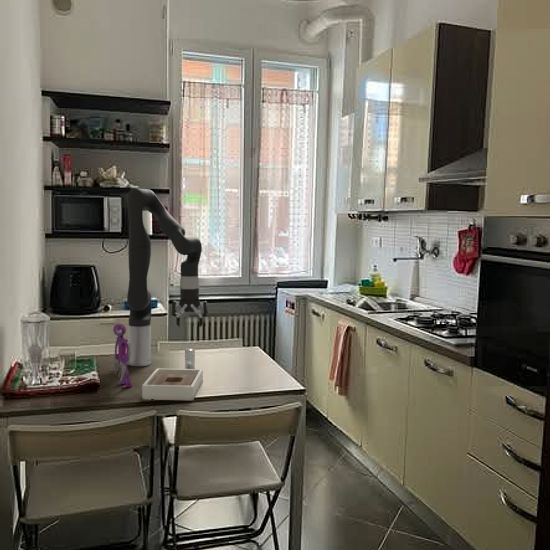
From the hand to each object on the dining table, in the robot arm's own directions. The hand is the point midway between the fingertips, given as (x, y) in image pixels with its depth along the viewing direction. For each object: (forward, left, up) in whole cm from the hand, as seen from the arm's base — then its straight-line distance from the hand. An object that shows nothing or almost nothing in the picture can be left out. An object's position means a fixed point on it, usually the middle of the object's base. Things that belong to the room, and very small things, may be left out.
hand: (189, 326), depth 231 cm
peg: (0, 0, -20) cm, 20 cm away
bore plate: (-2, -22, -20) cm, 30 cm away
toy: (-23, -19, -20) cm, 36 cm away
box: (-2, -22, -20) cm, 30 cm away
